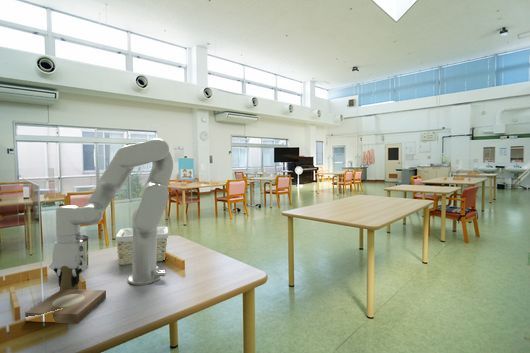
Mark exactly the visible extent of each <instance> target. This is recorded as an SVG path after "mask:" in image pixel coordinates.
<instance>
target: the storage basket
mask: <svg viewBox="0 0 530 353" xmlns="http://www.w3.org/2000/svg"><path fill="white" fill-rule="evenodd" d="M168 238H169V226H158V227H157V262H164V261H163V260H164V254H165V252H166V253H167V244H168V243H167V242H168ZM115 242H116V248H117V252H116V254H117V257H118V258H117V262H118V265H122V266H124V265H132V244H133V228H131V227H129V228H125V227H123V228H121V229H120V230H119V231H118V232H117V234H116V235H115Z"/></svg>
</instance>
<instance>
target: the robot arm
mask: <svg viewBox="0 0 530 353" xmlns="http://www.w3.org/2000/svg"><path fill="white" fill-rule="evenodd" d="M150 163H152V164H151V165H152V166H151V169H150V172H149V174H148V178H147V180H146V182H145V184H144V187H143V189H142V198H141V200H140V203H139V206H138V207H136V209H135V210H134V211H133V213H132V216H131V218H132V219H131V224H132V228H133V244H132V264H131V265H132V266H131V271H132V272H131V273H132V274H131V275H130V276H129V277H128V278H127V279H128V280H127V282H128V284H131V285H133V286H144V285H145V284H146V285H150V284H153V283H155V281H156V282H157V281H159V280H160V279H161V277H163V278H164V277H166V275H167V272H166V270H165V269H162V270H161V269H160V267H159V266H158V265H157V263H158V261H157V227H159V224H160V222H161V220H162V218H163V216H164V212H165V209H166V207H167V204H168V200H169V196H170V195H169V191H168V190H169V189H168V186H169V184H170V180H171V177H172V174H173V171H174V170H173V169H174V160H173V157H172V154H171V152H170V147H169V144H168V142H167V141H166V140H164V139H162V138H153V139H149V140H145V141H142V142H137V143H134V144H130V145H125V146H121V147H120V148H118V149H117V151H116V152H115V154H114V156H113V157H112V159H111V161H110V162H109V164H108V166H107V167H106V168H105V170H104V172H103V173H102V175H100V177H99V180H98V183H97V185H96V187H95V189H94V191H93V192H92V193H91V195H90V197H89V199H88V200H87V201H86V204H84V206H82V207H79V206H78V205H73V204H71V205H70V204H68V205H61V206H58V207H57V208H56V210H55V234H56V236H55V240H56V241H55V242H54V245H53V249H52V257H51V260H52V262H51V263H50V264H49V266H48V267H49V269H51V270H53V271H54V273H56V276H57V277H58V286H59V287H60V284H61V278H62V271H61V270H60V268H61V267H62V266H67V267H69V268H70V269H72V273H73V276H72V277H71V282H72V287H74V286H75V285H76V284H78V285H79V283H80V274H81V273H82V272H83V271H84V270H86V269H88V268H89V266H88V265H89V264H88V265H87V264H86V257H85V248H84V244H83V241H82V240H81V239H83V236H82V235H83V234H81V226H94V225H96V224H98V223H100V222H101V220H102V218H103V216H104V213H105V211H106V209H108V206H109V205H110V203H111V202H112V200H113V198H114V197H115V196H116V194H117V193H119V192H120V191H121V190H122V188H123V187H124V185H125V183H126V181H127V180H128V178H129V177H130V175H131V174H132V172H133V170H134V169H135V168H136V167H139V166H142V165H146V164H150ZM79 265H81V266H82V267H81V268H80V266H79ZM158 279H159V280H158ZM152 282H153V283H152ZM149 283H150V284H149Z"/></svg>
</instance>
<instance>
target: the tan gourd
mask: <svg viewBox="0 0 530 353" xmlns="http://www.w3.org/2000/svg"><path fill="white" fill-rule="evenodd" d="M60 270H61V271H62V278H61V284H60V286H59V291H60V290H61V289H79V286H78V285H79V283H78V284H76V285H75V286H74V287H72V282H71V277H72V276H73V273H72V269H70V268H69V267H67V266H62V267H61V268H60Z"/></svg>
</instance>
